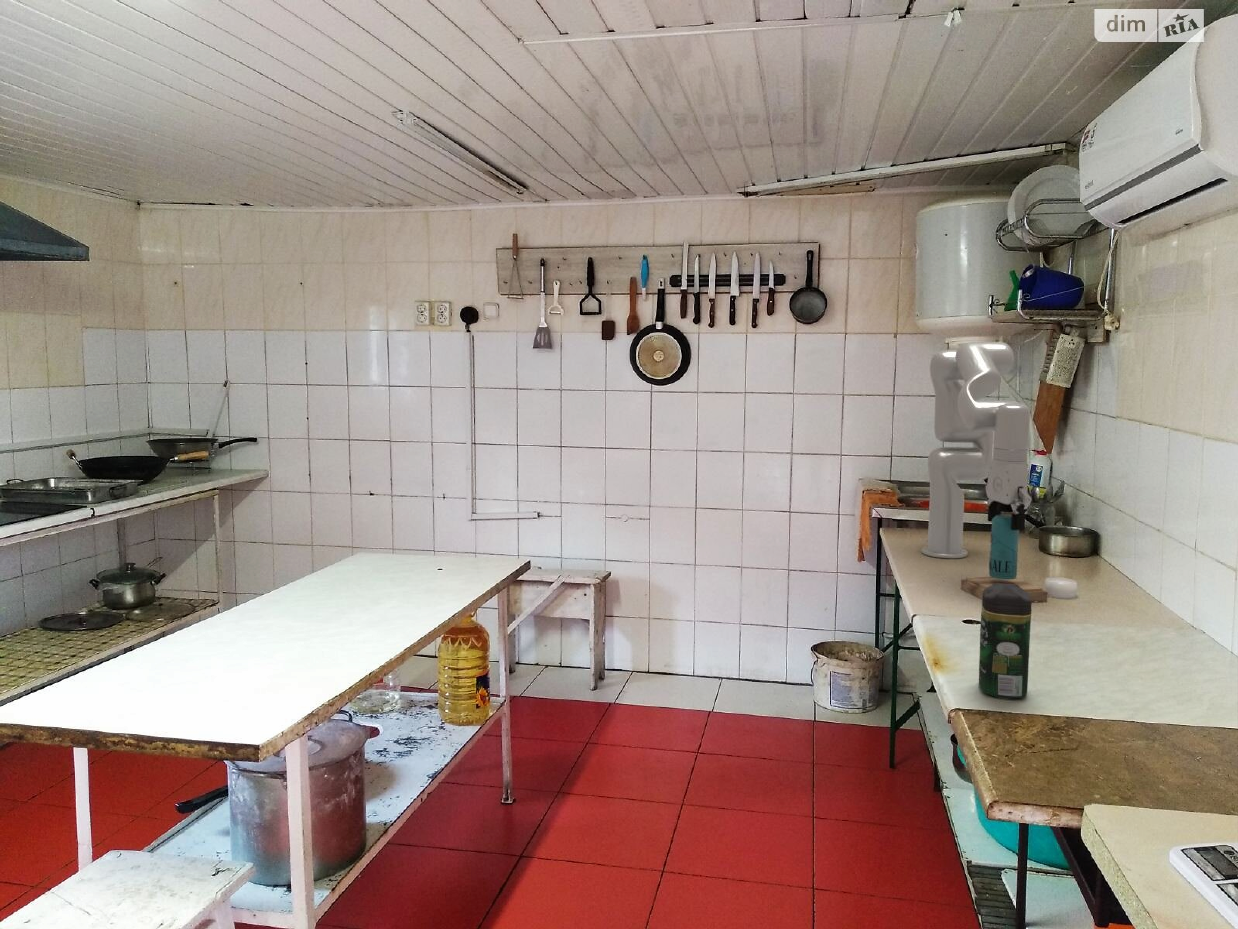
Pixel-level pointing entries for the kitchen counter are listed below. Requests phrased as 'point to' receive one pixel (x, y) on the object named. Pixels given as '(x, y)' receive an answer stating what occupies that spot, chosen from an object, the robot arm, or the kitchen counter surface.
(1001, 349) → the robot arm
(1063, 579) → the white soap bar
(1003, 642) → the coffee jar
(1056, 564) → the kitchen counter surface
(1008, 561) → the beverage bottle
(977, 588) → the riser
